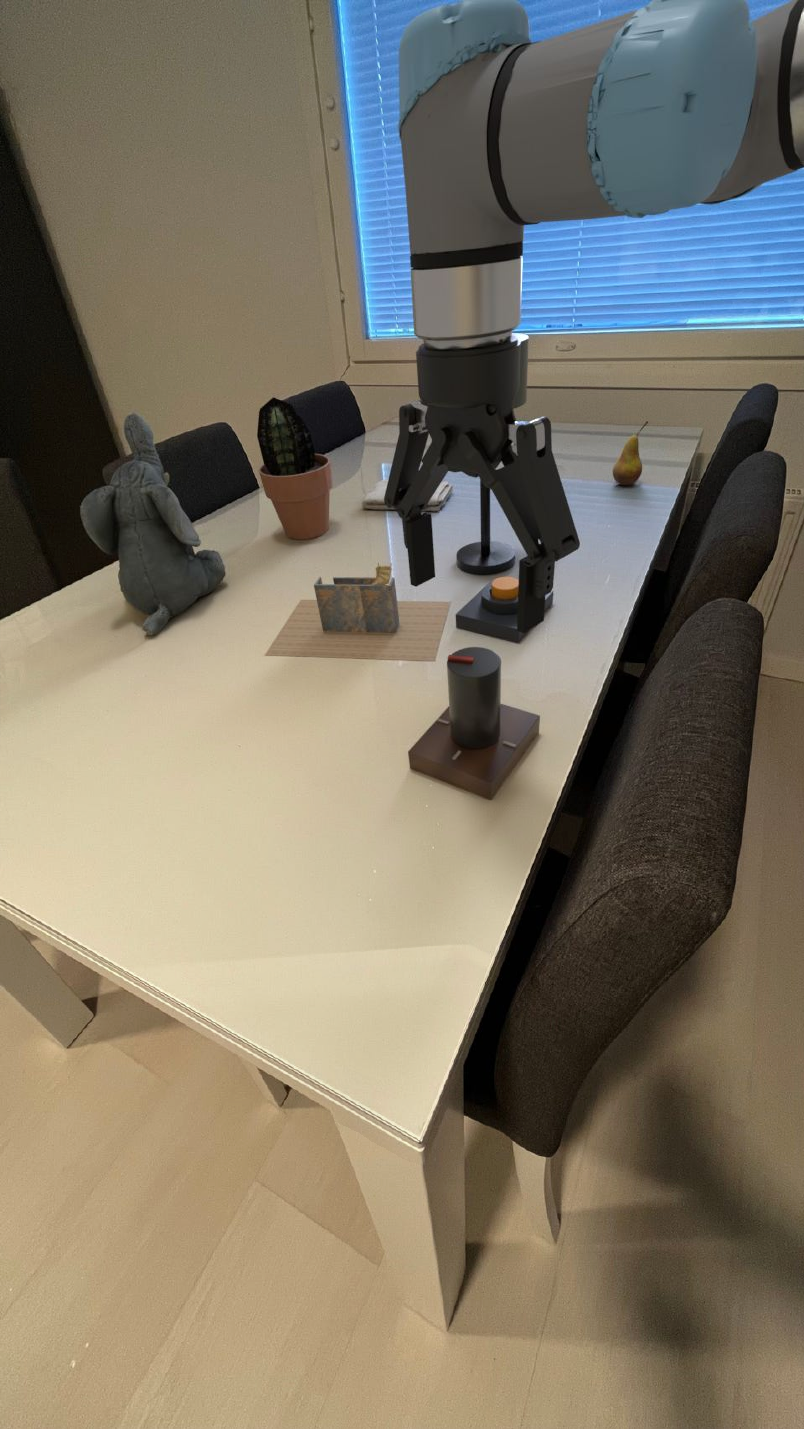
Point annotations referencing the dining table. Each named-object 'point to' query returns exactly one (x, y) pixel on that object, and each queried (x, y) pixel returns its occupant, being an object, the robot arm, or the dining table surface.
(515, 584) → the button
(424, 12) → the robot arm
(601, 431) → the dining table surface
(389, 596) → the architectural model on board
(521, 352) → the desk lamp
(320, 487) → the potted plant
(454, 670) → the dimmer knob
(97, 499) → the stuffed elephant
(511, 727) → the dimmer panel
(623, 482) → the fruit
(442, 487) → the washcloth
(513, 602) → the switch box
